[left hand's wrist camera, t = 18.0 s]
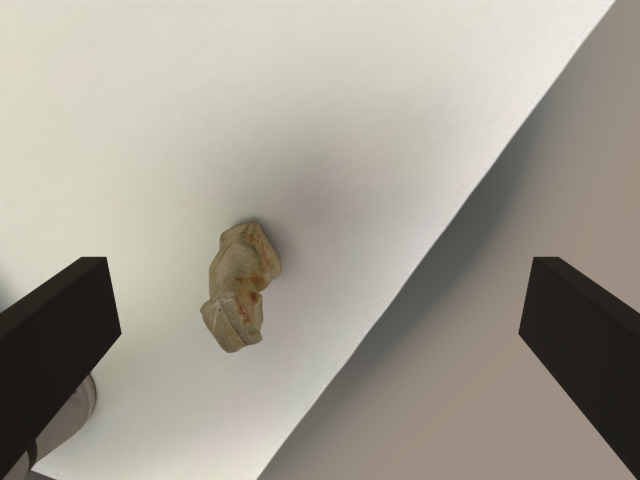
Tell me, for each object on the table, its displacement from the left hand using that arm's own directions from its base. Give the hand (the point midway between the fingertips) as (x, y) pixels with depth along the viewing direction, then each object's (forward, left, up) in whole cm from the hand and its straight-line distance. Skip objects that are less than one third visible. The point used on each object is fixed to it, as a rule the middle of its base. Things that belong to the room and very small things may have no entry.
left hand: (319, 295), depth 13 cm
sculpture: (-12, +1, -30) cm, 33 cm away
